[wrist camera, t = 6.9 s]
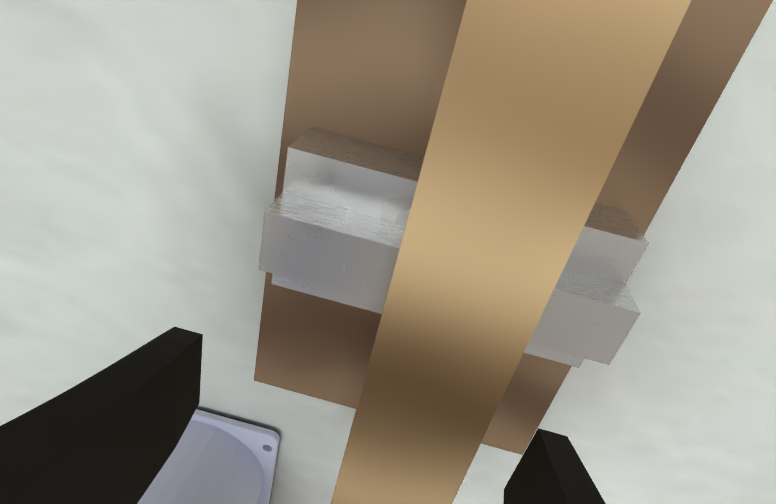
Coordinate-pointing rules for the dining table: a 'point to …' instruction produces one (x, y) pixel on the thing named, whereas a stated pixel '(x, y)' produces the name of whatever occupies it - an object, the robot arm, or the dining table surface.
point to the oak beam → (494, 226)
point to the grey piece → (385, 232)
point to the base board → (411, 134)
